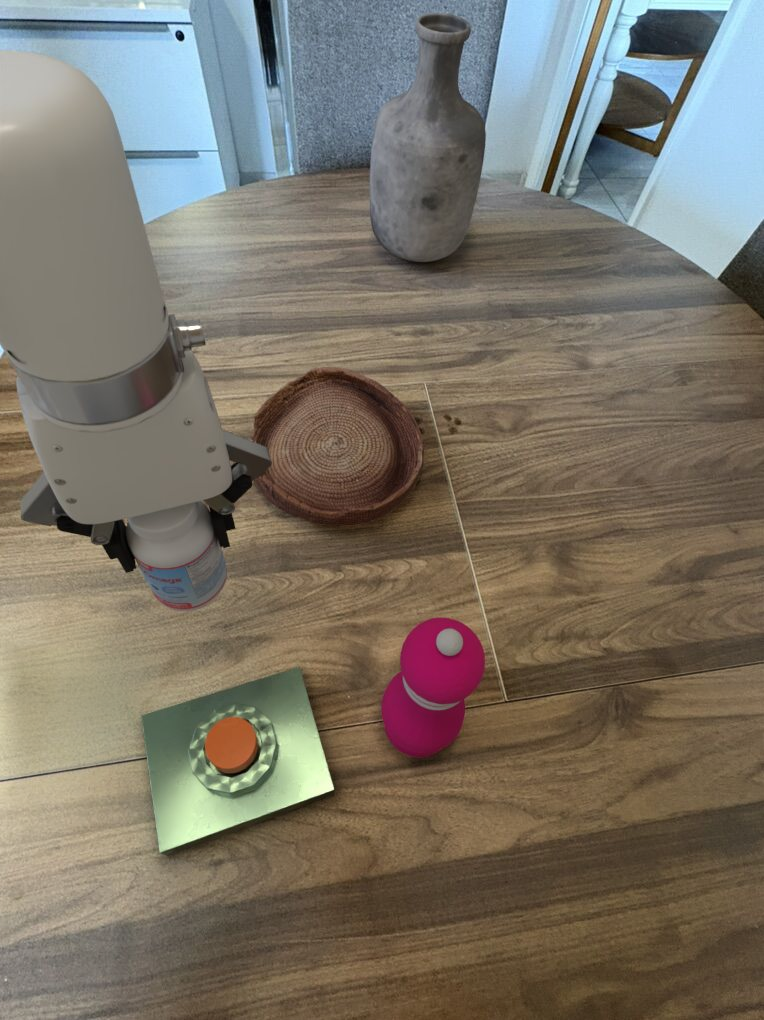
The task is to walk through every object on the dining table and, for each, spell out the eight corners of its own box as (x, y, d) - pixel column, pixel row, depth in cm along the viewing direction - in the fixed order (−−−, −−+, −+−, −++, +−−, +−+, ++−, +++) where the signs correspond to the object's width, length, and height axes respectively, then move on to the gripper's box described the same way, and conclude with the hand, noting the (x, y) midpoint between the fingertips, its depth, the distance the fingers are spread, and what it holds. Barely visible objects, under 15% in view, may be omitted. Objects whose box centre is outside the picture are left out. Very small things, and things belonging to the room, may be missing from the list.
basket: (240, 402, 78) (234, 373, 73) (392, 382, 81) (395, 353, 77) (266, 553, 66) (262, 528, 61) (444, 520, 69) (451, 495, 65)
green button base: (167, 856, 49) (153, 850, 45) (148, 723, 55) (135, 708, 51) (334, 795, 53) (334, 785, 49) (301, 676, 58) (298, 659, 55)
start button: (213, 780, 49) (210, 776, 47) (204, 731, 51) (200, 725, 49) (263, 763, 50) (261, 758, 48) (252, 716, 52) (249, 710, 50)
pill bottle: (136, 587, 50) (91, 509, 40) (190, 536, 53) (160, 452, 44) (191, 628, 48) (157, 556, 39) (244, 573, 51) (224, 494, 42)
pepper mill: (366, 744, 55) (379, 665, 39) (394, 672, 59) (418, 572, 43) (442, 777, 54) (489, 709, 37) (466, 701, 58) (518, 610, 41)
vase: (345, 243, 99) (350, 13, 74) (416, 210, 105) (441, -10, 81) (415, 292, 93) (445, 60, 68) (485, 254, 99) (536, 31, 75)
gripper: (253, 286, 35) (277, 478, 50) (-88, 339, 31) (49, 531, 46) (287, 375, 31) (302, 555, 46) (-99, 450, 27) (55, 621, 42)
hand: (175, 542), depth 45 cm, fingers closed on pill bottle, 6 cm apart
